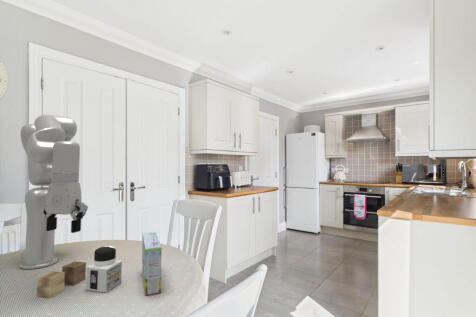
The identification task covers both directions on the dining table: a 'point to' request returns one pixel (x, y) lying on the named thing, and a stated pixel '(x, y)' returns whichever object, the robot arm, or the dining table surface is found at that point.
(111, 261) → the container
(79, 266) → the walnut block
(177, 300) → the dining table surface
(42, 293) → the oak block
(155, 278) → the snack box
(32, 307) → the dining table surface
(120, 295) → the dining table surface
